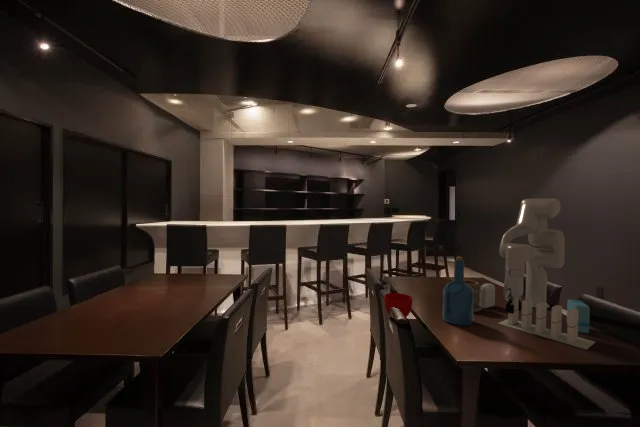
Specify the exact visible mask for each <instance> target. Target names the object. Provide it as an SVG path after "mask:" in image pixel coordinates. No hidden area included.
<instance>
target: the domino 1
mask: <svg viewBox="0 0 640 427" xmlns="http://www.w3.org/2000/svg"><path fill="white" fill-rule="evenodd" d="M511 297H512V296H511ZM512 298H513V297H512ZM511 301H512V299H511ZM513 305H514V313H513V314H512V313H508V312H507V316H508V317H507V319H508V324H510V325H514V324H516V323H518V321H519V311H518V306H519V297H518V298H515V299H514V303H513Z"/></svg>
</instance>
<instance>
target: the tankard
mask: <svg viewBox="0 0 640 427" xmlns="http://www.w3.org/2000/svg"><path fill="white" fill-rule="evenodd" d="M443 279H444V281H449V282H448V283H450V282H453V281H454V278H452V277H450V276H449V275H447V276H446V275H445V276H444V277H443ZM464 282H465V283H466V284H467V285H469V286H470V287H472V289H473V290H474V313H478V312H481V311H483V310H482V309H483V308H482V307H480V306H479V302H480V297H479V293H481V288H480V283H479V282H478V281H476V280H471V279H464Z"/></svg>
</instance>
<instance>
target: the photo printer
mask: <svg viewBox="0 0 640 427" xmlns="http://www.w3.org/2000/svg"><path fill="white" fill-rule="evenodd" d="M479 288H481V293H479V297H480V302H479V306H480V307H482V309H487V308H492V307H495V304H496V303H495V301H496V286H495V285H494V284H493V283H483V284H482V285H480V286H479Z"/></svg>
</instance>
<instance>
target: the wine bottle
mask: <svg viewBox="0 0 640 427" xmlns="http://www.w3.org/2000/svg"><path fill="white" fill-rule="evenodd" d="M453 267H454V271H453V280H454V281H453V282H450V283H449V282H448V283H446V285H444V287H443V290H442V315H441V316H442V320H443V321H445V322H446V323H448V324H451V325H455V326H461V327H463V326H465V327H467V326H471V325H473V322H474V313H475V312H474V290H473V289H472V287H470V286H469V285H467V284H466V283H465V282H464V280H465V260H464V259H463V256H456V259H454V265H453Z"/></svg>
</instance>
